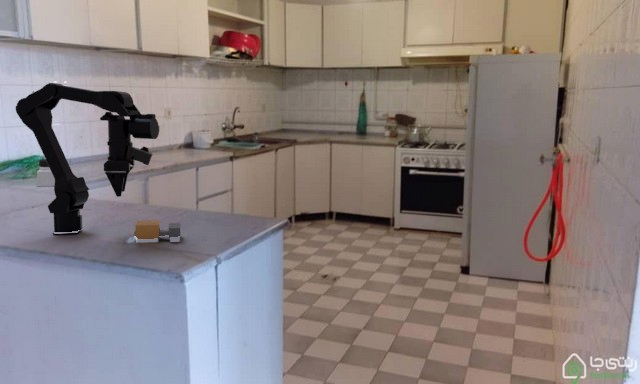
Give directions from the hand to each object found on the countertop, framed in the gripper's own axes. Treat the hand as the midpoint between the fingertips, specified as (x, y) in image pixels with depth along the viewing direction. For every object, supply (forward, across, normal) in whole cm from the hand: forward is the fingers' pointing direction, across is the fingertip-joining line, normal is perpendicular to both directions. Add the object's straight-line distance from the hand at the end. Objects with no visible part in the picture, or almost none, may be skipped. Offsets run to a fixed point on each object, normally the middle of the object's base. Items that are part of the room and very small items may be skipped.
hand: (120, 193), depth 142 cm
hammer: (+12, -6, -10) cm, 17 cm away
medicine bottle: (+12, +105, +42) cm, 114 cm away
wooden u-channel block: (+12, -6, -7) cm, 15 cm away
